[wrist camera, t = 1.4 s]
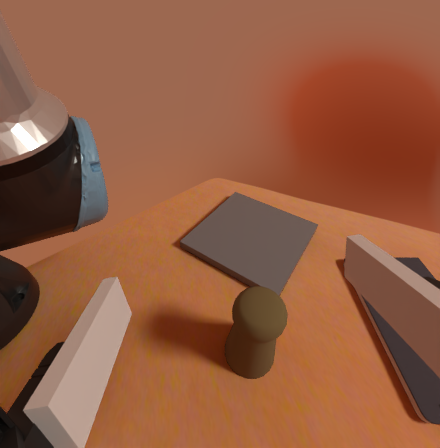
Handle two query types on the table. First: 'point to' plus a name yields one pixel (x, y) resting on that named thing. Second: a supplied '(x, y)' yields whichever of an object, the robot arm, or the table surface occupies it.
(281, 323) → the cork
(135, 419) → the table surface
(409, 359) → the notebook
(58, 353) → the robot arm
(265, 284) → the slate board
